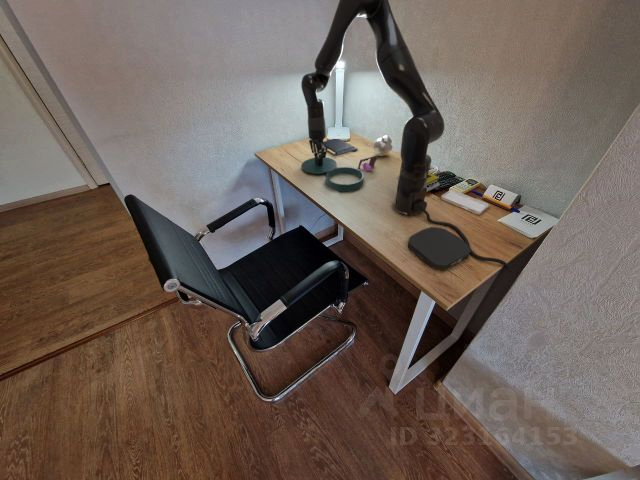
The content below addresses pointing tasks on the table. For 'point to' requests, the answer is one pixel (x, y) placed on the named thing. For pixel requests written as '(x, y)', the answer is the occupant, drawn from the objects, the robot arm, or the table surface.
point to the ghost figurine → (382, 146)
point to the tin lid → (315, 168)
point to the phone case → (465, 201)
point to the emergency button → (430, 180)
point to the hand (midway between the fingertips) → (319, 164)
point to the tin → (345, 187)
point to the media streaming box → (438, 247)
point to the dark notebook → (338, 147)
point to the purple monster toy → (366, 165)
